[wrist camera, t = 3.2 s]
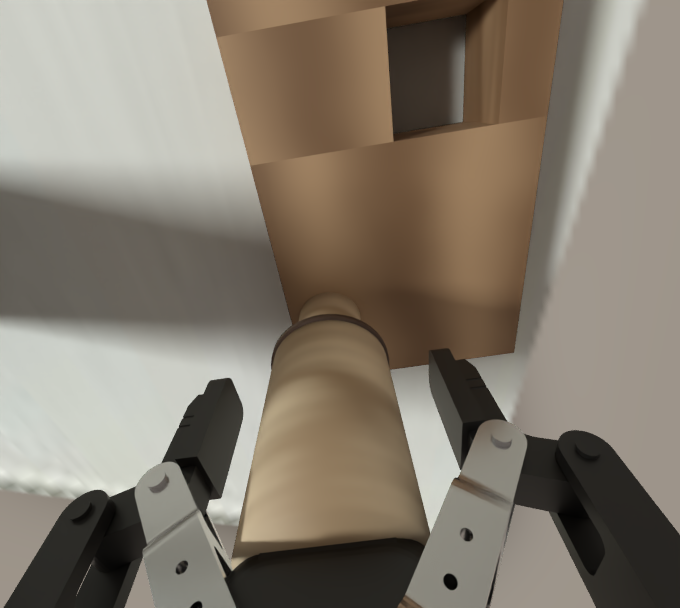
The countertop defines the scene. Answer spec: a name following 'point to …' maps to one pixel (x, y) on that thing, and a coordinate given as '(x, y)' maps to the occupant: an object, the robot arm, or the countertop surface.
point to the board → (395, 163)
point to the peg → (329, 441)
